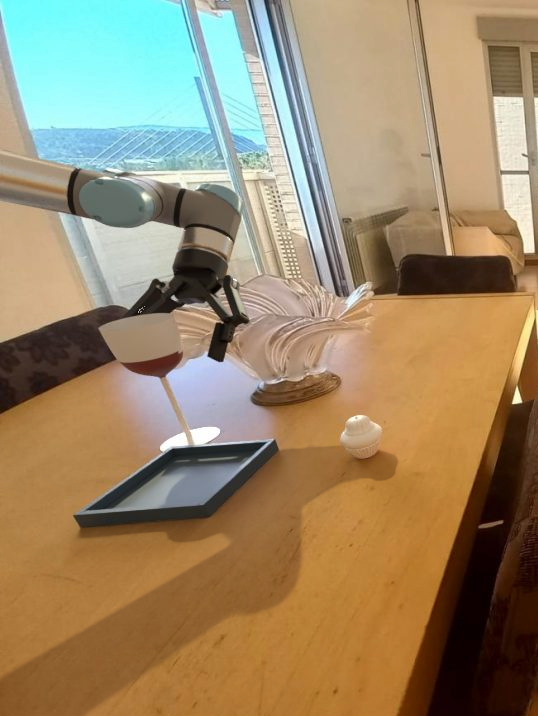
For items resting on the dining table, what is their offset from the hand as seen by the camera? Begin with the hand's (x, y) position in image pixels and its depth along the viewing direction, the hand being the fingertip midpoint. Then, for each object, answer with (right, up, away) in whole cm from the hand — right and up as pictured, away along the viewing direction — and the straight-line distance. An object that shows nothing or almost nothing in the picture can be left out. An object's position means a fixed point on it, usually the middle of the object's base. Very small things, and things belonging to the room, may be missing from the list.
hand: (173, 362), depth 82 cm
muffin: (+35, -15, -4) cm, 39 cm away
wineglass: (+1, -14, +3) cm, 14 cm away
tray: (+12, -19, -10) cm, 24 cm away
